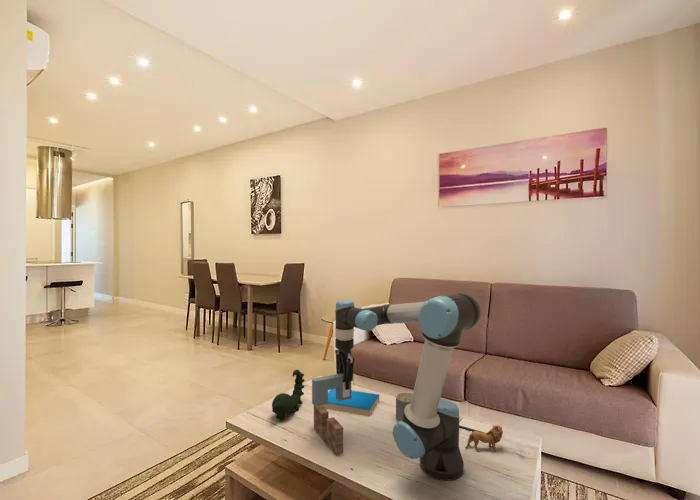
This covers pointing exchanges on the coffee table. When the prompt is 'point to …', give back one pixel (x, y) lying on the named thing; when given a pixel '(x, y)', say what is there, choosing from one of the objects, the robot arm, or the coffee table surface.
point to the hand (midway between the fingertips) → (344, 394)
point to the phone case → (474, 425)
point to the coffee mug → (402, 403)
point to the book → (353, 403)
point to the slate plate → (327, 388)
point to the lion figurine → (486, 437)
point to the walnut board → (328, 429)
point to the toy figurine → (289, 399)
